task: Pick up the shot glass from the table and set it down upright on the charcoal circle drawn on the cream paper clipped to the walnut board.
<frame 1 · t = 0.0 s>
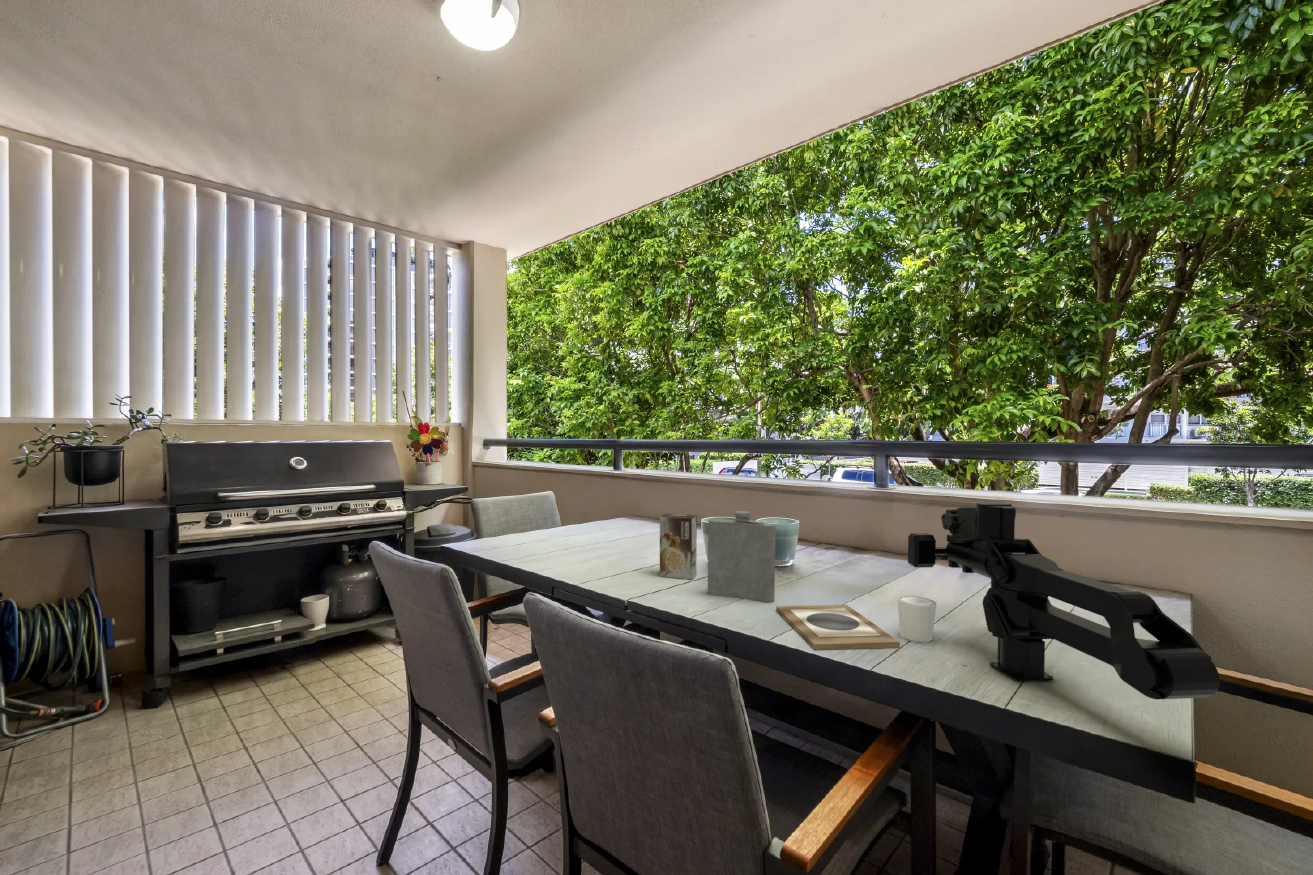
hand: (931, 541, 118), 17 cm above the table, tool horizontal, fingers open, 9 cm apart
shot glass: (915, 637, 109), on the table
coffee box: (678, 576, 153), on the table
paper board: (832, 627, 114), on the table
hip flask: (740, 597, 134), on the table
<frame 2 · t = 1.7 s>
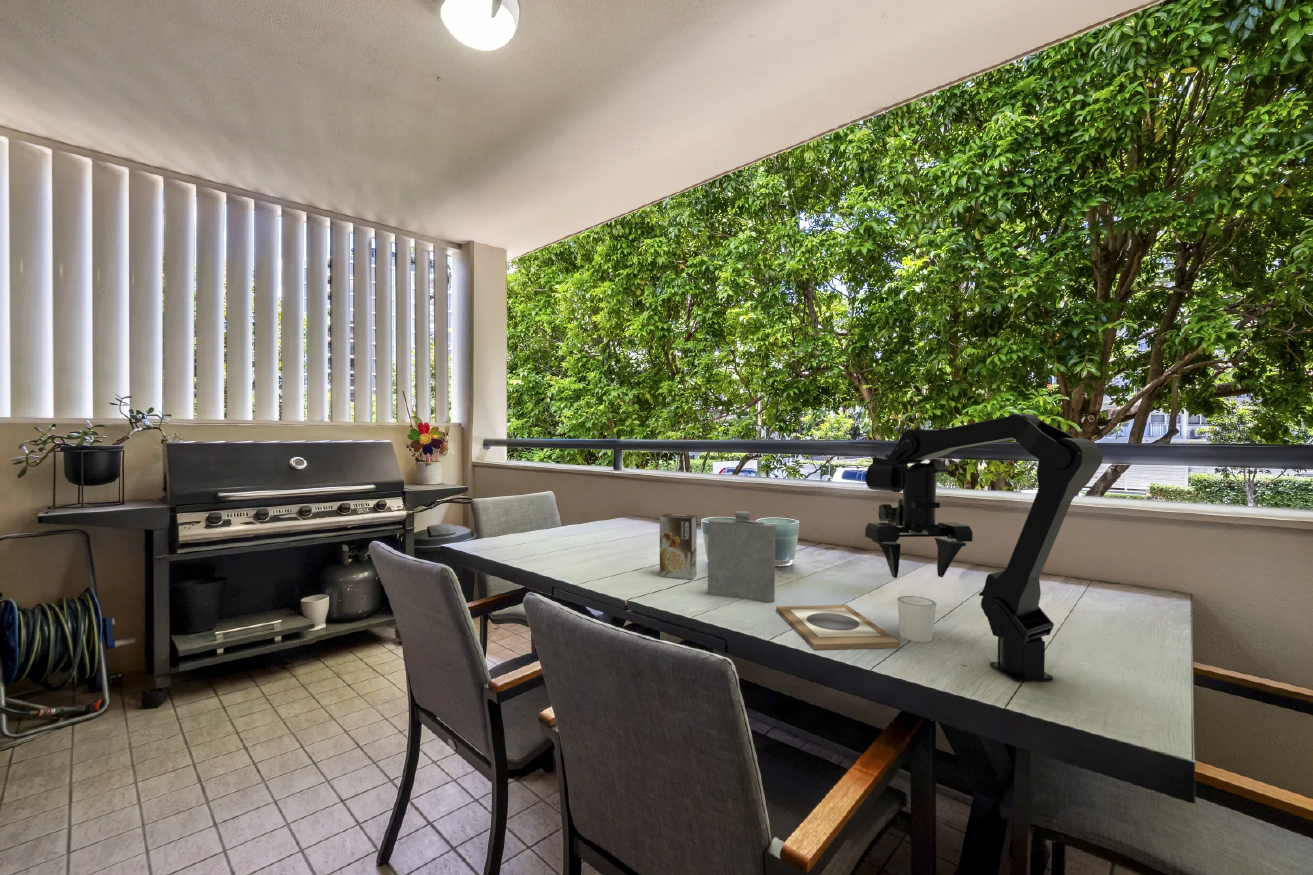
hand: (917, 577, 109), 11 cm above the table, tool pointing down, fingers open, 9 cm apart
nothing on the table moved.
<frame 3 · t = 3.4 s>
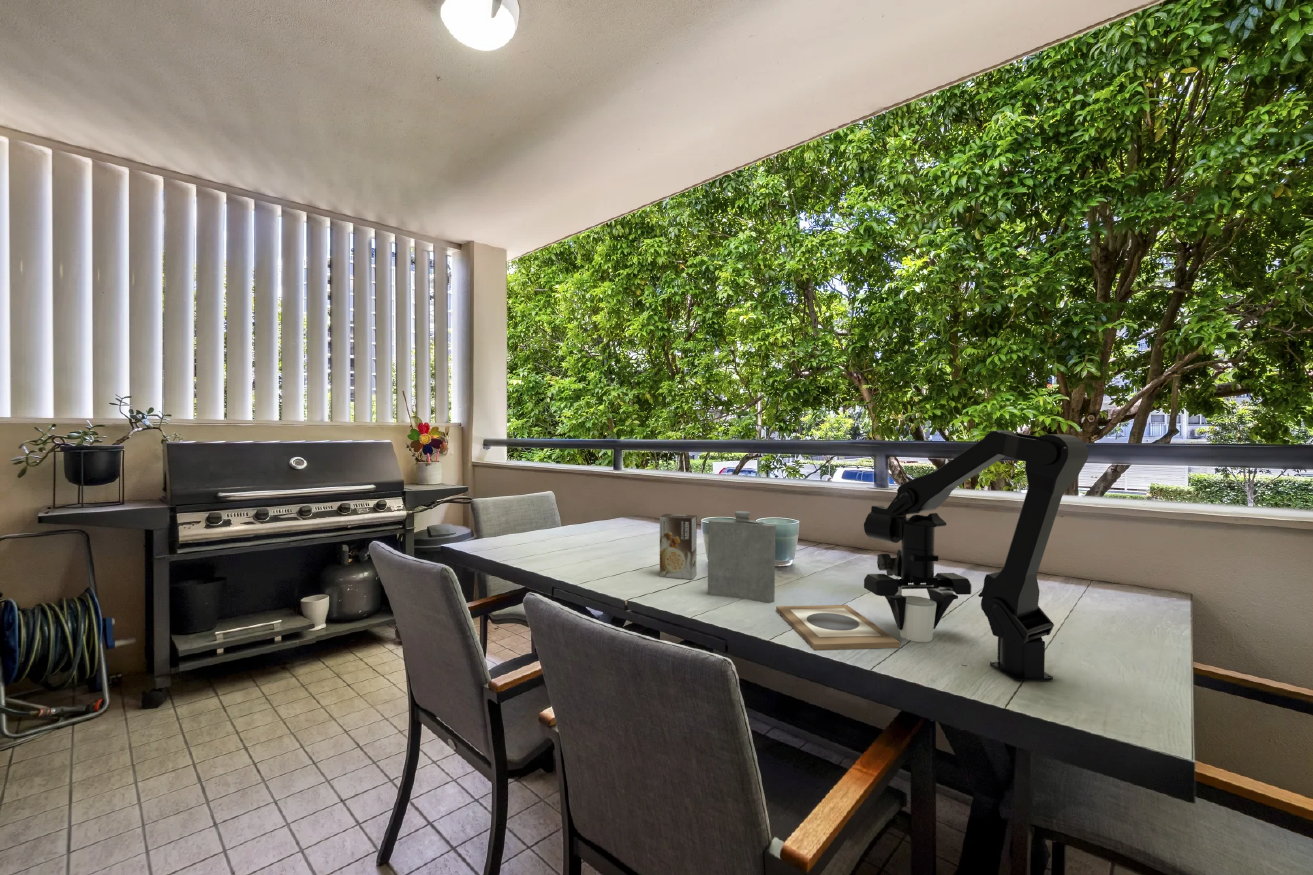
hand: (916, 628, 109), 2 cm above the table, tool pointing down, fingers closed on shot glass, 6 cm apart
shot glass: (915, 637, 109), on the table, touching gripper
everything else where it was.
when the fingers open (4 cm above the table, at t = 8.2 s): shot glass drops 1 cm, resting on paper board.
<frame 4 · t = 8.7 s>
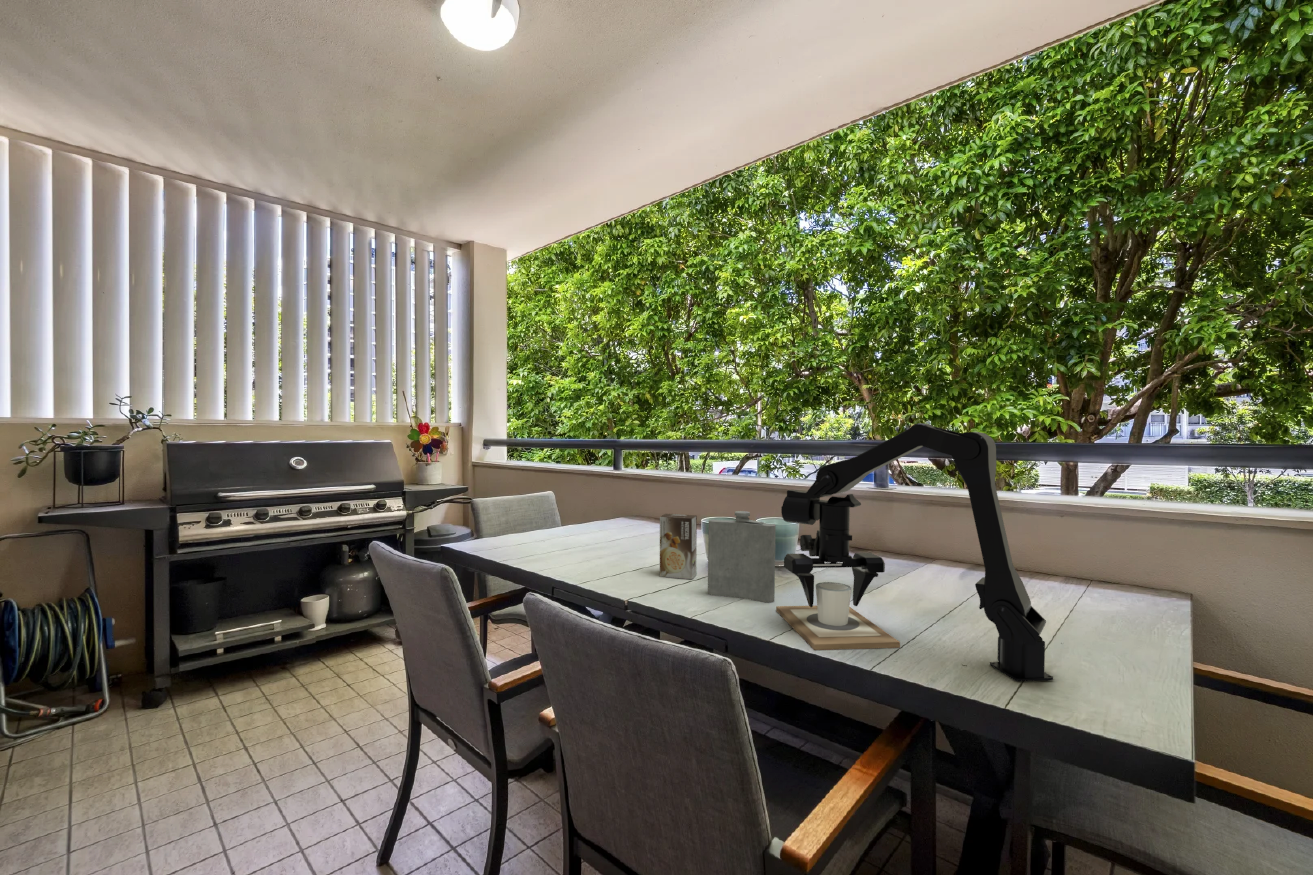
hand: (833, 606, 113), 4 cm above the table, tool pointing down, fingers open, 9 cm apart
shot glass: (832, 621, 114), point 1 cm above the table, touching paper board
everything else where it was.
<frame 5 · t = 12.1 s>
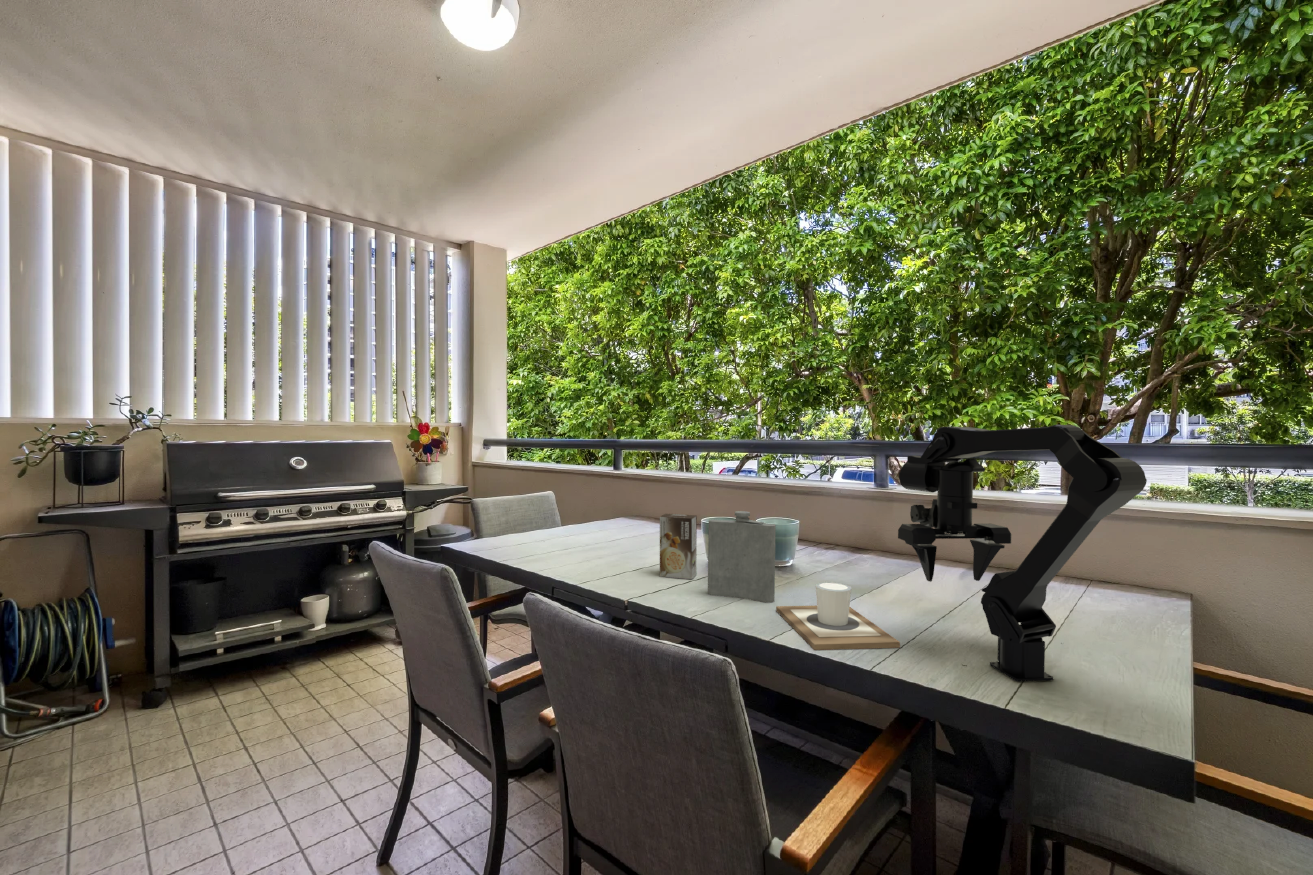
hand: (953, 580, 104), 12 cm above the table, tool pointing down, fingers open, 9 cm apart
nothing on the table moved.
at the end: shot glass inside the target area on the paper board (0.1 cm from its centre), point 1.1 cm above the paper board's base; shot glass tilted 0°; the gripper is holding nothing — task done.
